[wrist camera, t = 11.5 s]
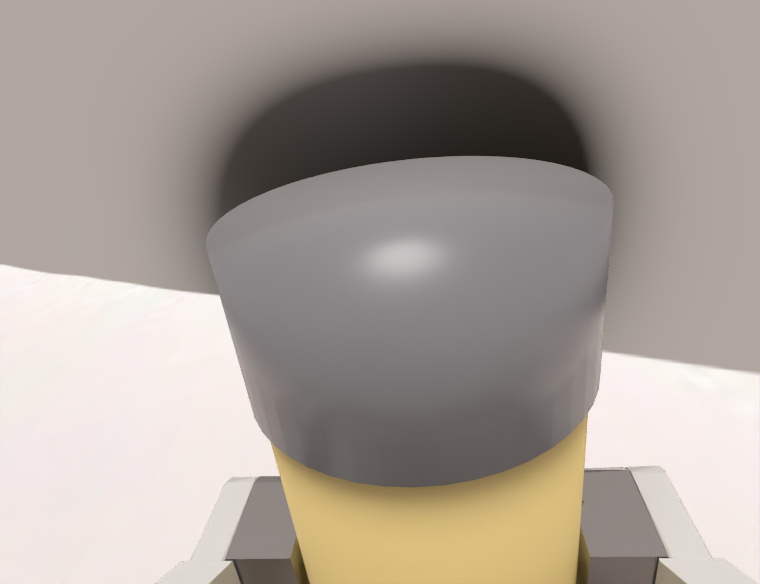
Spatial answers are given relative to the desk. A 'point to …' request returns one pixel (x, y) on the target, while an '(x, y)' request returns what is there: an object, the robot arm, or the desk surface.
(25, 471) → the desk surface
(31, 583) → the desk surface
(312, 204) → the marker
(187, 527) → the desk surface
